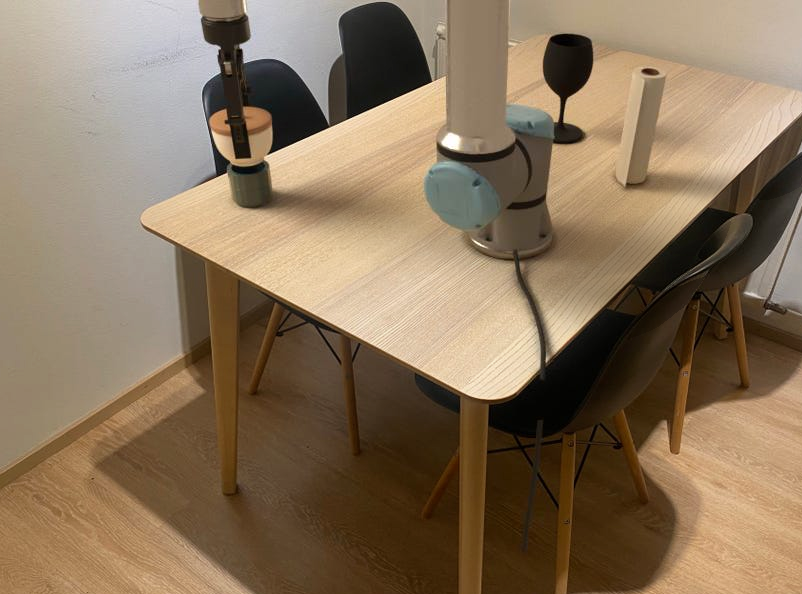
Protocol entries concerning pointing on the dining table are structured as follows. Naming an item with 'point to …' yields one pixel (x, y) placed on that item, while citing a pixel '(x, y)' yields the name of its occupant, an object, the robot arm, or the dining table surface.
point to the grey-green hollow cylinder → (250, 184)
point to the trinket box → (257, 134)
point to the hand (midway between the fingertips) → (244, 143)
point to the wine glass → (567, 76)
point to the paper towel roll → (640, 124)
